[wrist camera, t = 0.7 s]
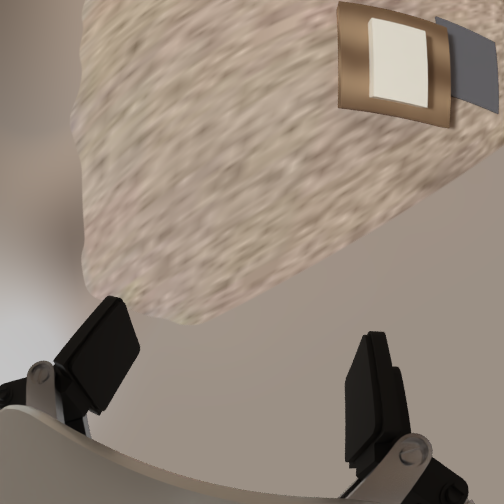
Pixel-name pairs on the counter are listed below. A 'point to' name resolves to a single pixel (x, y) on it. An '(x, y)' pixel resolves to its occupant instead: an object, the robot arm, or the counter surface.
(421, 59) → the white rectangular block
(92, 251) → the counter surface
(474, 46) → the mat
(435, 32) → the brown square plate
